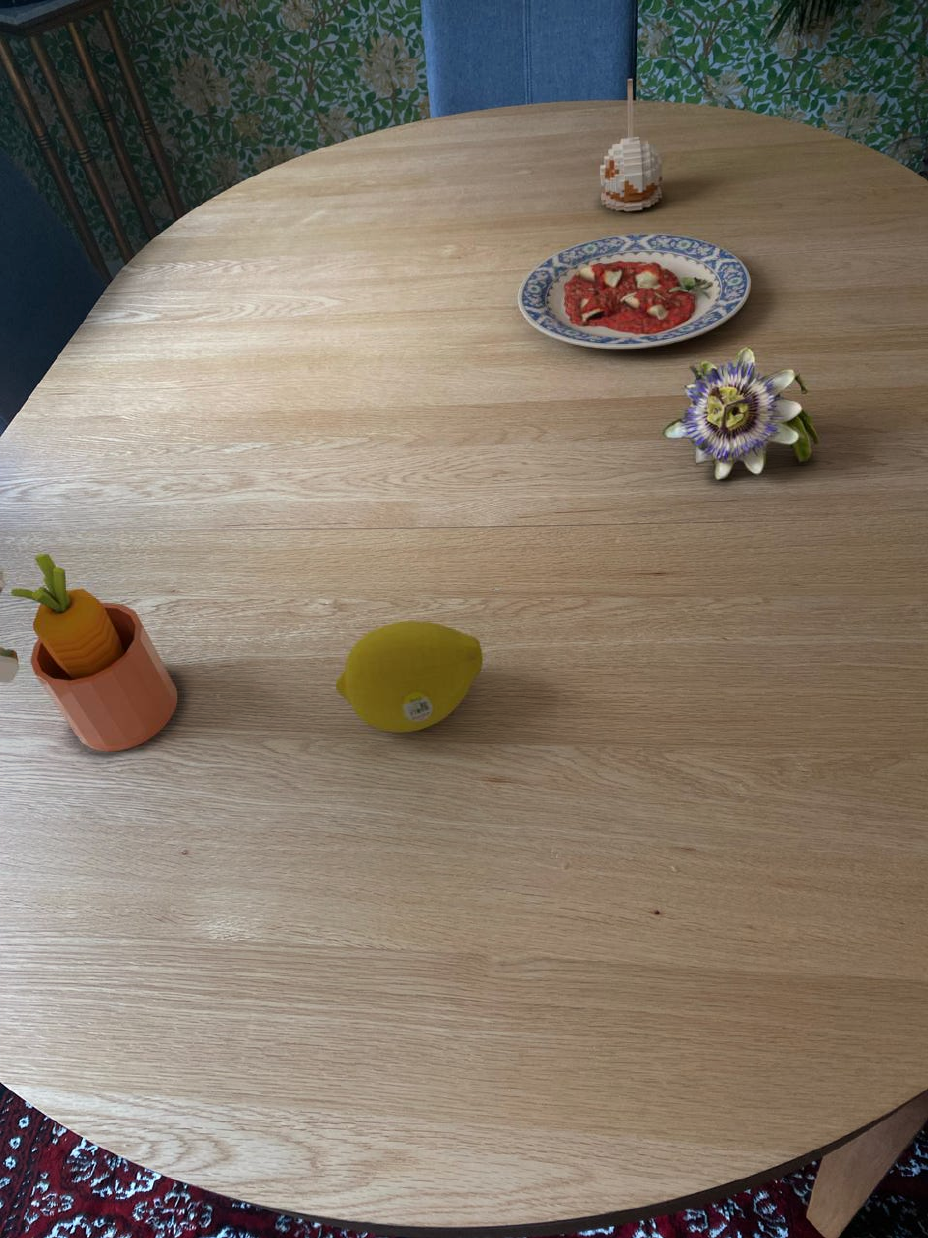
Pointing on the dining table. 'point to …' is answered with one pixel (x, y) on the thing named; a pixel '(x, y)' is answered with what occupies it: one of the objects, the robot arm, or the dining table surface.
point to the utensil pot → (113, 689)
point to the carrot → (72, 624)
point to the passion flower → (742, 415)
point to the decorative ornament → (631, 170)
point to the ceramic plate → (634, 291)
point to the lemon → (409, 674)
